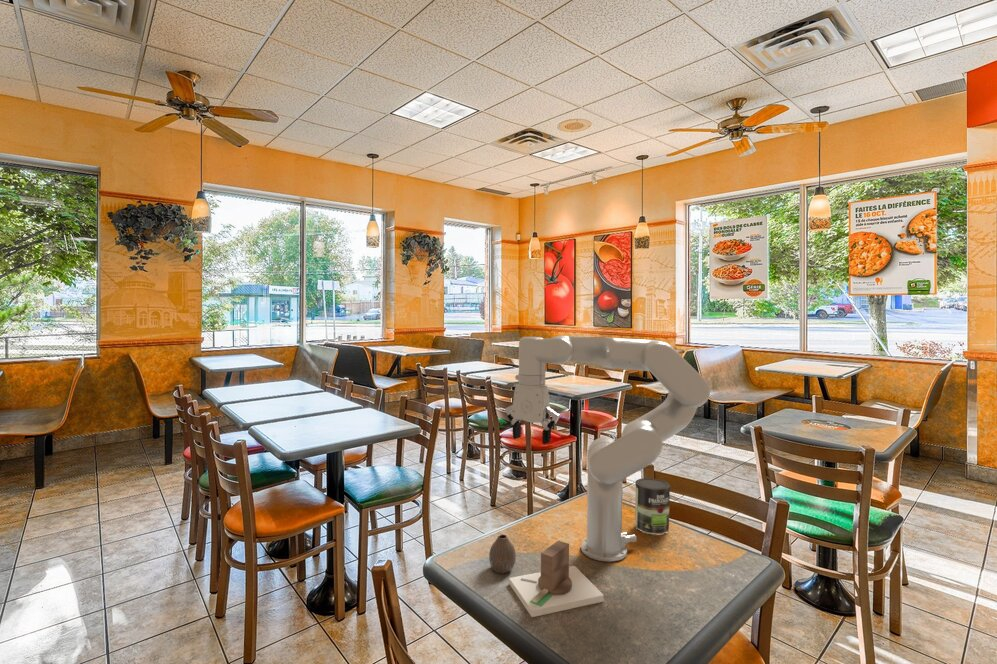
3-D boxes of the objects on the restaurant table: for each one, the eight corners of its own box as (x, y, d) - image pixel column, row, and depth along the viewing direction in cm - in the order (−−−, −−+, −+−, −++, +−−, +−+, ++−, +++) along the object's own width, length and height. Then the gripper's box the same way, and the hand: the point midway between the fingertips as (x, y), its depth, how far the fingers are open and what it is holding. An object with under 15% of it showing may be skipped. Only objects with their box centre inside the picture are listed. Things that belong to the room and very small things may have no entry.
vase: (513, 578, 124) (513, 543, 123) (486, 575, 125) (486, 541, 125) (517, 564, 130) (517, 531, 130) (492, 561, 132) (492, 529, 132)
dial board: (574, 571, 127) (574, 565, 127) (603, 601, 114) (603, 594, 114) (509, 583, 121) (509, 577, 121) (531, 617, 108) (531, 609, 108)
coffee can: (676, 534, 149) (676, 488, 148) (644, 537, 147) (645, 490, 146) (658, 520, 159) (659, 476, 158) (628, 522, 157) (629, 478, 156)
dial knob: (549, 572, 123) (549, 537, 123) (578, 583, 118) (578, 546, 118) (519, 596, 112) (519, 558, 112) (549, 608, 108) (550, 569, 107)
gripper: (499, 379, 141) (498, 438, 142) (552, 384, 131) (551, 448, 132) (513, 376, 147) (513, 433, 148) (565, 381, 137) (564, 442, 138)
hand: (531, 440), depth 140 cm, fingers open, 9 cm apart
